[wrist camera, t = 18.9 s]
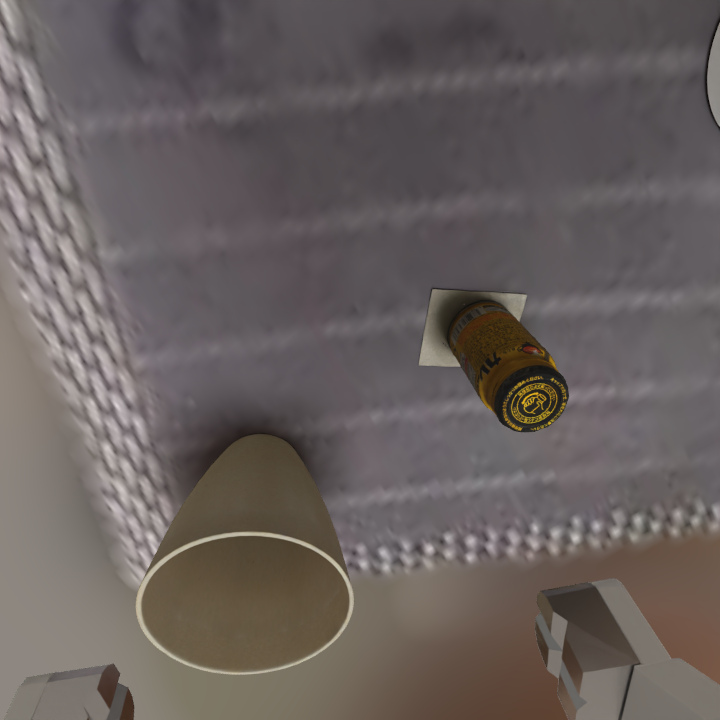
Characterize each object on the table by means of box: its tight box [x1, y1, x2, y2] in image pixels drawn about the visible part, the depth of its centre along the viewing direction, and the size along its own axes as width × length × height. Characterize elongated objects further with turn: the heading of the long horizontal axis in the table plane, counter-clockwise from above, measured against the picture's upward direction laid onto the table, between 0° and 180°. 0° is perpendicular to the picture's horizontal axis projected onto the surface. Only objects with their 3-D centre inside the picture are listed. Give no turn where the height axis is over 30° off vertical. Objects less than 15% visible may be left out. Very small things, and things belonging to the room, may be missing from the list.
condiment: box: [419, 289, 569, 432], centre depth 41 cm, size 7×8×12 cm
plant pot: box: [136, 434, 354, 675], centre depth 44 cm, size 15×15×16 cm
